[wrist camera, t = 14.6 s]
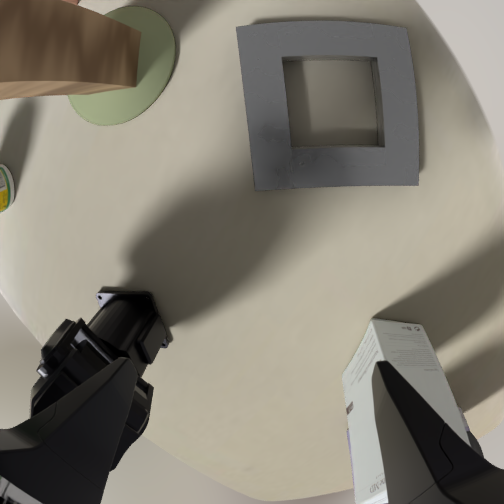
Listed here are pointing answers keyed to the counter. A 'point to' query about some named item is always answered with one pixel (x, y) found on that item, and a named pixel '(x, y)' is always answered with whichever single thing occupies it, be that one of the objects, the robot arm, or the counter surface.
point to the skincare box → (361, 397)
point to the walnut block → (63, 50)
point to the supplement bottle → (6, 188)
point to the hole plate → (337, 156)
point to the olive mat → (148, 73)
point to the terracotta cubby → (72, 1)
